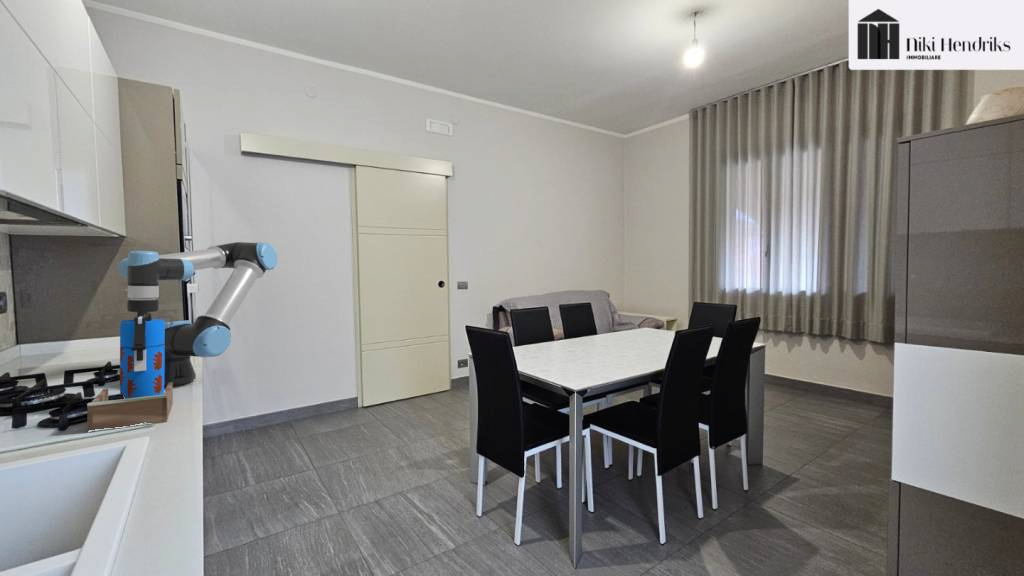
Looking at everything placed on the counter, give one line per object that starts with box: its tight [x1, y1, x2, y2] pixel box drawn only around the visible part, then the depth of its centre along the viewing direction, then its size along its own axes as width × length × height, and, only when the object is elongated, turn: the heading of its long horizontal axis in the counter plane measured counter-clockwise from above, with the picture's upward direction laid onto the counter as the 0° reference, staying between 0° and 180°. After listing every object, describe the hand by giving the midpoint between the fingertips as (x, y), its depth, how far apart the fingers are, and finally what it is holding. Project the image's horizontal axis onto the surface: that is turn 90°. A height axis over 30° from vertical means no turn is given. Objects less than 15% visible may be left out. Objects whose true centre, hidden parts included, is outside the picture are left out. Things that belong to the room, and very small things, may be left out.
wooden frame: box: [86, 382, 174, 432], centre depth 121 cm, size 19×16×8 cm
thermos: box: [119, 318, 165, 399], centre depth 135 cm, size 11×11×25 cm
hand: (142, 367), depth 135 cm, fingers closed on thermos, 11 cm apart
